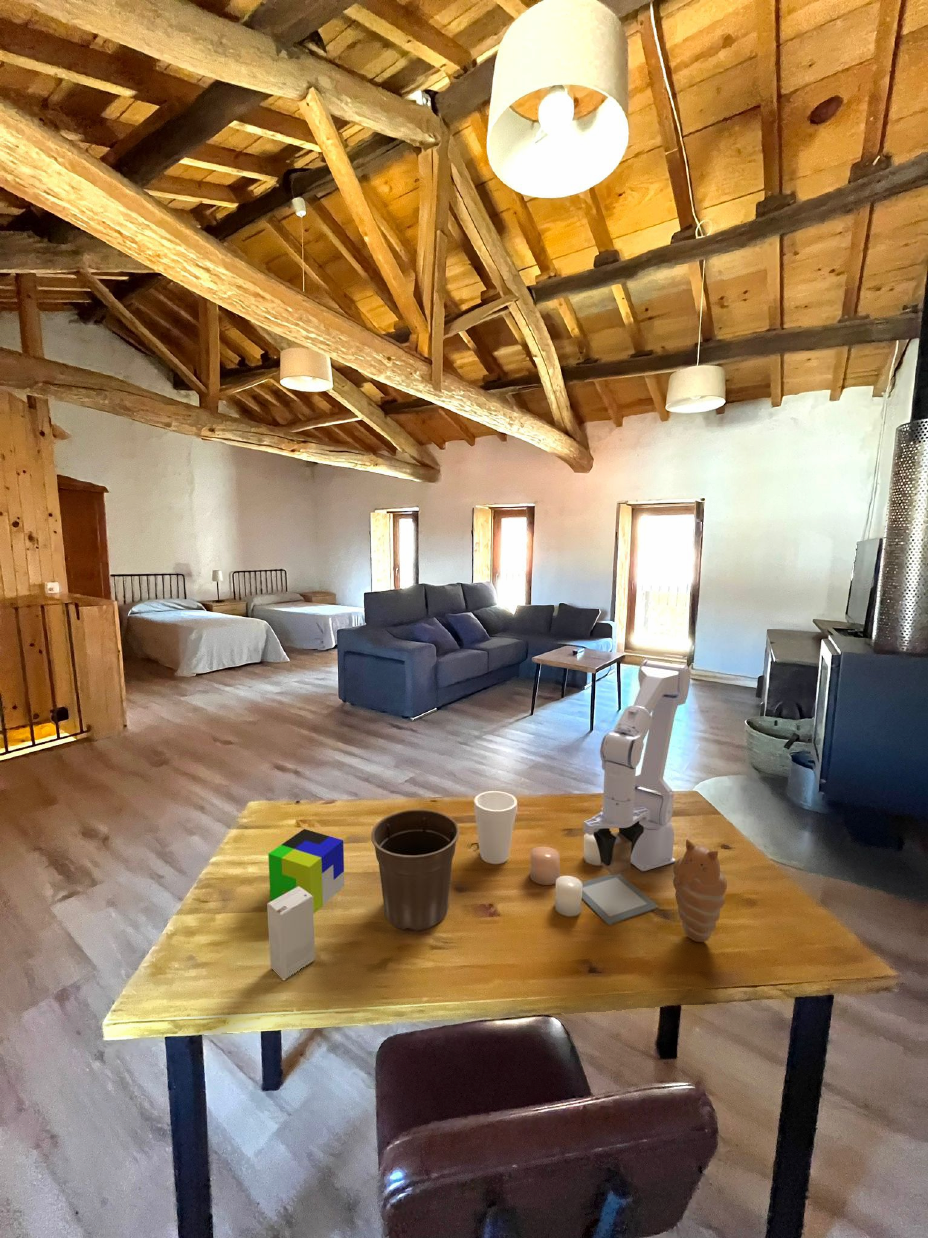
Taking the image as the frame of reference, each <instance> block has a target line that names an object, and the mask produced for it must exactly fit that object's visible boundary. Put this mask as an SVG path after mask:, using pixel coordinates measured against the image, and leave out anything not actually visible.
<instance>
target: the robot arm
mask: <svg viewBox="0 0 928 1238" xmlns="http://www.w3.org/2000/svg"><path fill="white" fill-rule="evenodd" d="M637 674H638V677H637V679H638V683H639V685H638V686H639V690H638V692H637V695H636V698H635V699H634V703H633V705H629V706H627V707H625V708H624V710H623V712H622V714H621V715H620V717H619V719H618V722H617V723H616V725H615V727H614V728H613V730H612V731H610V732H609V733H608V732H607V733H605V734H604V735H603V738H602V739H601V742H600V749H599V756H600V760H601V769H602V770H603V771H604V773H603V792H602V794H603V795H602V796H603V797H602V807H601V808H600V812H599V813H597V814H596V815H594V816H593V817H590V819H589V818H588V819H587V820H584V821H583V832H585V834H586V833H587V834H588V835H593V836H594V838H595V840H596V843H597V846H598V849H599V854H600V859H601V861H602V862H603V863H604V864H605V865H606V866H610V864H611V859H612V850H613V846H614V843H615V841H616V839H617V838H616V837H615V836H614V835H612V834H611V833H612V830H610V829H618V832H620V833H621V834H622V835H623V836H624V837H626V838H627V839H628V840H629V841H631V842H632V844H631V863H630V864H632V865H634V866H635V867H636V868H637V869H638V870H640V871H641V872H646V871H649V870H652V869H656V868H659V867H662V866H666V865H669V864H674V863H675V862H676V859H675V858H674V857H673V856H674V855H673V853H674V843H675V842H674V841H675V840H674V839H675V830H674V828H673V827H674V826H673V823H671V820H672V818H673V817H672V816H673V814H674V813H673V812H674V797H675V794H674V791H673V789H672V787H670V785H669V784H668V783H667V782H666V781H665V780H664V775H665V769H666V764H667V759H668V753H669V748H670V744H671V743H670V742H671V737H672V734H673V733H672V731H673V727H674V722H675V721H674V720H675V717H676V716H675V715H676V712H677V708H678V707H679V706H681V705H685V704H686V701H687V699H688V695H689V689H690V684H691V670H690V667H689V666H688V665H687V664H676V663H669V662H661V661H656V660H649V659H644V660H643V661H642V662H641V663H640V665H639V668H638V673H637ZM646 736H647V738H646ZM645 739H646V743H645V744H644V740H645ZM644 745H645V747H644ZM643 749H644V754H643ZM642 754H643V759H642V764H641V769H640V774H638V775H636V772H637V771H636V770H637V767H638V765H639V763H640V761H641V758H642ZM641 788H643V789H641ZM645 789H646V790H645ZM647 789H648V790H649V791H648V790H647ZM650 790H651V791H650ZM652 791H654V792H652ZM655 792H656V793H655ZM659 793H660V794H659Z"/></svg>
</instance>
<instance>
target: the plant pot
mask: <svg viewBox="0 0 928 1238" xmlns="http://www.w3.org/2000/svg"><path fill="white" fill-rule="evenodd" d="M459 835H460V828H459V826H458V823H457V822H456V821H455V819H453V818H452V817H450V816H448V815H447V814H444V813H443V812H439V811H435V810H431V809H425V808H424V809H423V808H422V809H419V808H417V809H406V810H401V811H399V812H395V813H392V814H389V815H387V816H386V817H383V818H382V819H380V820H379V821H378V822H377V823H375V825H374V826H373V828H372V830H371V834H370V840H371V844H372V845H373V846H374V851H375V857H376V860H377V862H378V868H379V875H380V877H379V878H380V884H381V892H382V900H383V910H384V915H385V917H386V919H387V921H389V923H391V924H392V925H393V926H395V927H396V928H398V929H401V930H406V929H411V930H413V931H414V932H415V931H423V930H426V929H429V928H432V927H434V926H436V925H438V924H439V923H440V922H441V921H442V920H444V918H445V917H446V915H447V914H448V910H449V906H450V905H449V902H450V889H451V880H452V868H453V859H454V856H455V852H456V844H457V840H458V839H459Z"/></svg>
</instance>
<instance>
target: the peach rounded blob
mask: <svg viewBox="0 0 928 1238" xmlns="http://www.w3.org/2000/svg"><path fill="white" fill-rule="evenodd" d="M529 853H530V862H529V863H530V864H529V878H530V880H532V882H533V883H535V884H538V885H541V886H552V885H556V880H557V878H559V877H560V852H559V851H558V850H557V849H555V848H552V847H549V846H542V845H541V846H536V847H534V848H532V849H531V850H530V852H529Z"/></svg>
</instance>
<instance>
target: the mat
mask: <svg viewBox="0 0 928 1238" xmlns="http://www.w3.org/2000/svg"><path fill="white" fill-rule="evenodd" d="M581 882H582V885H583V886H582V901H584V903H586V905H587V906H589V907H590V909H591V910H592V911H593V912H595V913H596V915H598V917H599V918H601V920H603V922H604V923H606V925H607V926H611V925H614V924H616V923H619V922H622V921H626V920H628V919H630V918H635V917H637V916H639V915H642V914H645V913H648V912H651V911H654V910H657V909H659V908H660V906H659V905H658V904H656V903H655V902H654V901H653V900H652V899H651V898H650V897H648V896H647V895H646V894H644V892H642V890H639V888H638V887H637V886H635V885H634V884H633V883H631V882H630V881H629V880H628V879H627V878H625V877H624V876H623V875H622V873H621V874H617V875H612V874H611V873H609V874H606V875H605V874H604V875H602V876H598V877H595V878H592V879H589V880H585V881H581Z"/></svg>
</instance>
